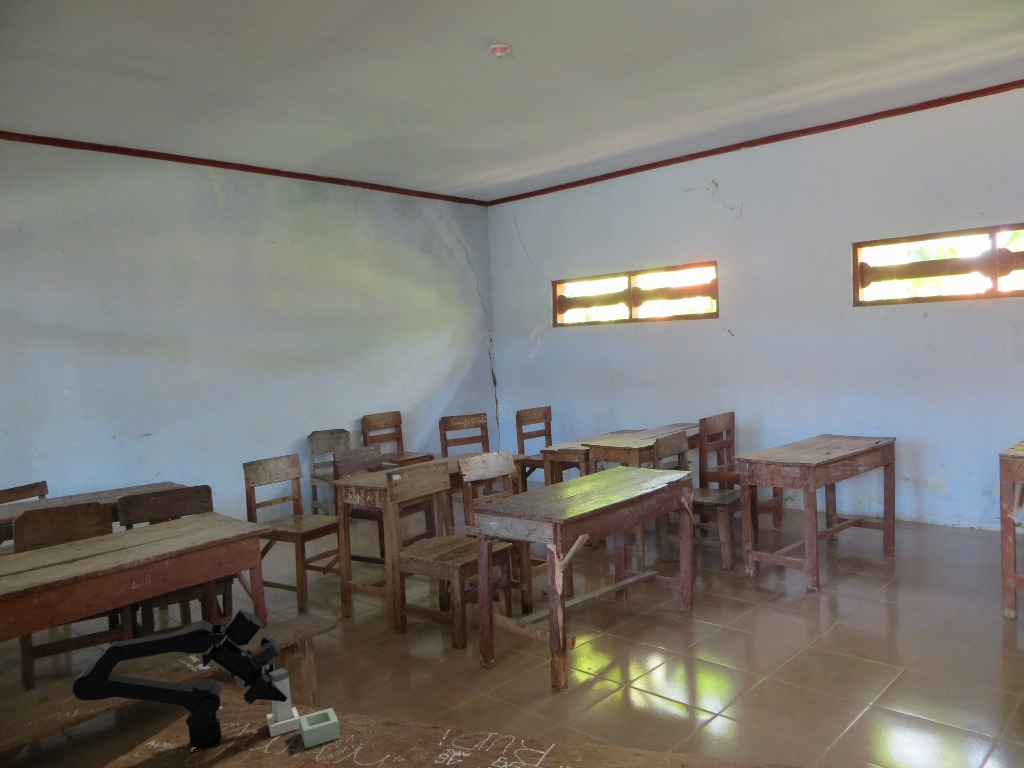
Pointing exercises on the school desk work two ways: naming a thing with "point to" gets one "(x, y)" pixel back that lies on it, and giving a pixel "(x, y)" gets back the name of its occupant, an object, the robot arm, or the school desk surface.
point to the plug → (284, 709)
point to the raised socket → (319, 727)
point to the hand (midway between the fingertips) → (286, 695)
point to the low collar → (283, 724)
